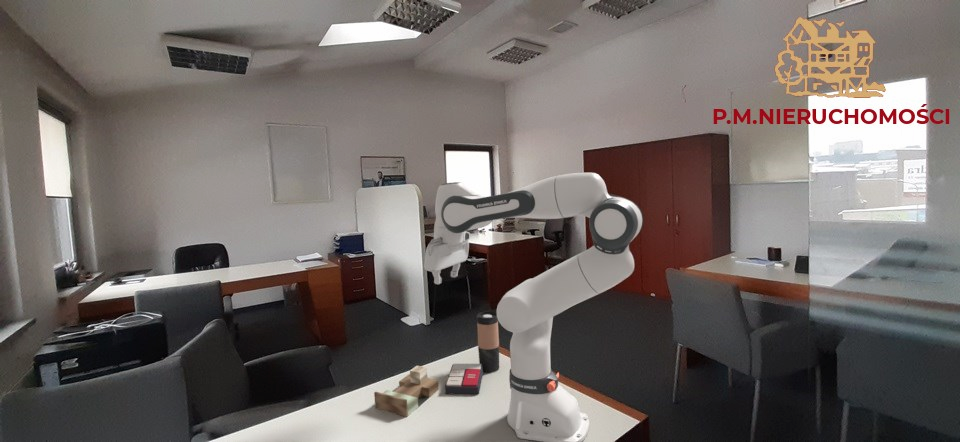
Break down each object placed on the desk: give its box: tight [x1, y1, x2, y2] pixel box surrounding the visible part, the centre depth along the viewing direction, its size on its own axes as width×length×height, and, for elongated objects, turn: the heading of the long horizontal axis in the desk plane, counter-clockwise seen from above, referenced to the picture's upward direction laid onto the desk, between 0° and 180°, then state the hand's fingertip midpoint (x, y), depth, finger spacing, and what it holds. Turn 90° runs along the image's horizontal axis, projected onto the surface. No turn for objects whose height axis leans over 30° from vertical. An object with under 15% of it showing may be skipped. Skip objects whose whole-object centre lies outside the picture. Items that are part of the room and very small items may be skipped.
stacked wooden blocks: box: [373, 373, 440, 418], centre depth 124 cm, size 12×17×5 cm
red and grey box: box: [444, 363, 484, 396], centre depth 132 cm, size 11×4×15 cm
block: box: [409, 365, 429, 385], centre depth 129 cm, size 4×4×4 cm
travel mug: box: [476, 311, 500, 374], centre depth 142 cm, size 8×8×20 cm
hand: (446, 280), depth 120 cm, fingers open, 8 cm apart
